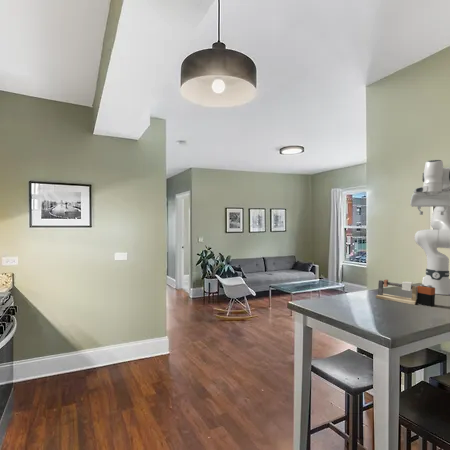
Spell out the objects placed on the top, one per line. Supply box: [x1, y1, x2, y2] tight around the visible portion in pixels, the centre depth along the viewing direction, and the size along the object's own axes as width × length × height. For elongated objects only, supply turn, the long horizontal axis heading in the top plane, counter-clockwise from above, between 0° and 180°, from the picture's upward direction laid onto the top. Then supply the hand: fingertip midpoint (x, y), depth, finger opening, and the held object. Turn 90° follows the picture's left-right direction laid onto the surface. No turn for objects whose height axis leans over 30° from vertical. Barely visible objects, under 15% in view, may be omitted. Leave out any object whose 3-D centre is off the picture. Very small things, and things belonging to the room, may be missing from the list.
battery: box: [416, 283, 436, 307], centre depth 156 cm, size 4×7×10 cm, turn 37°
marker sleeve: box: [401, 281, 413, 292], centre depth 161 cm, size 4×4×4 cm
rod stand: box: [375, 279, 418, 306], centre depth 164 cm, size 10×18×10 cm, turn 49°
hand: (431, 214), depth 166 cm, fingers open, 8 cm apart
